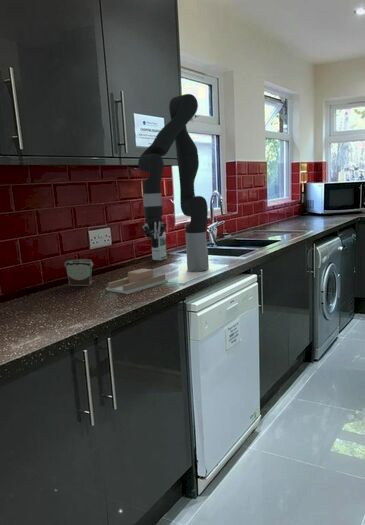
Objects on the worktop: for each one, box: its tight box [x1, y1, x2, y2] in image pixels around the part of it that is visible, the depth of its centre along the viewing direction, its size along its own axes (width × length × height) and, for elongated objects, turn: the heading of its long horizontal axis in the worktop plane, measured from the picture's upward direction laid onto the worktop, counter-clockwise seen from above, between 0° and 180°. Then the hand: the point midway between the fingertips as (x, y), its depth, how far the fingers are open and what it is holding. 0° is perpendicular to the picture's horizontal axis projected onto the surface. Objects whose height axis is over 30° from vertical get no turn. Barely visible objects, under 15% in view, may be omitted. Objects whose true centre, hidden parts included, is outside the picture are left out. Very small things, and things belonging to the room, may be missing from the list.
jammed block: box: [127, 268, 154, 283], centre depth 173 cm, size 8×6×4 cm
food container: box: [64, 258, 94, 287], centre depth 180 cm, size 12×6×10 cm, turn 74°
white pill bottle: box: [151, 231, 168, 261], centre depth 230 cm, size 6×6×14 cm
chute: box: [105, 273, 169, 295], centre depth 172 cm, size 22×12×3 cm, turn 140°
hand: (155, 247), depth 178 cm, fingers closed
